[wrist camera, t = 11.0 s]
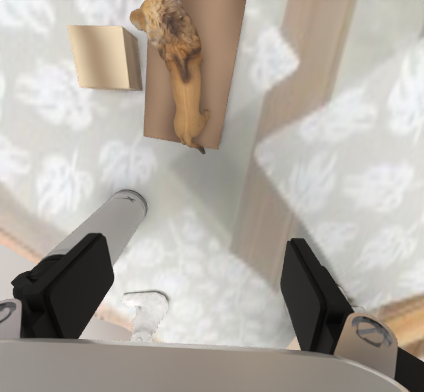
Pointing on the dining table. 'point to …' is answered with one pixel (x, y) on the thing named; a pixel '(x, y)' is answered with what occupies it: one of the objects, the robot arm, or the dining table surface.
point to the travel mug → (97, 223)
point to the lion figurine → (177, 61)
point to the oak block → (105, 57)
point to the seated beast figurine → (146, 313)
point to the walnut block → (209, 69)
